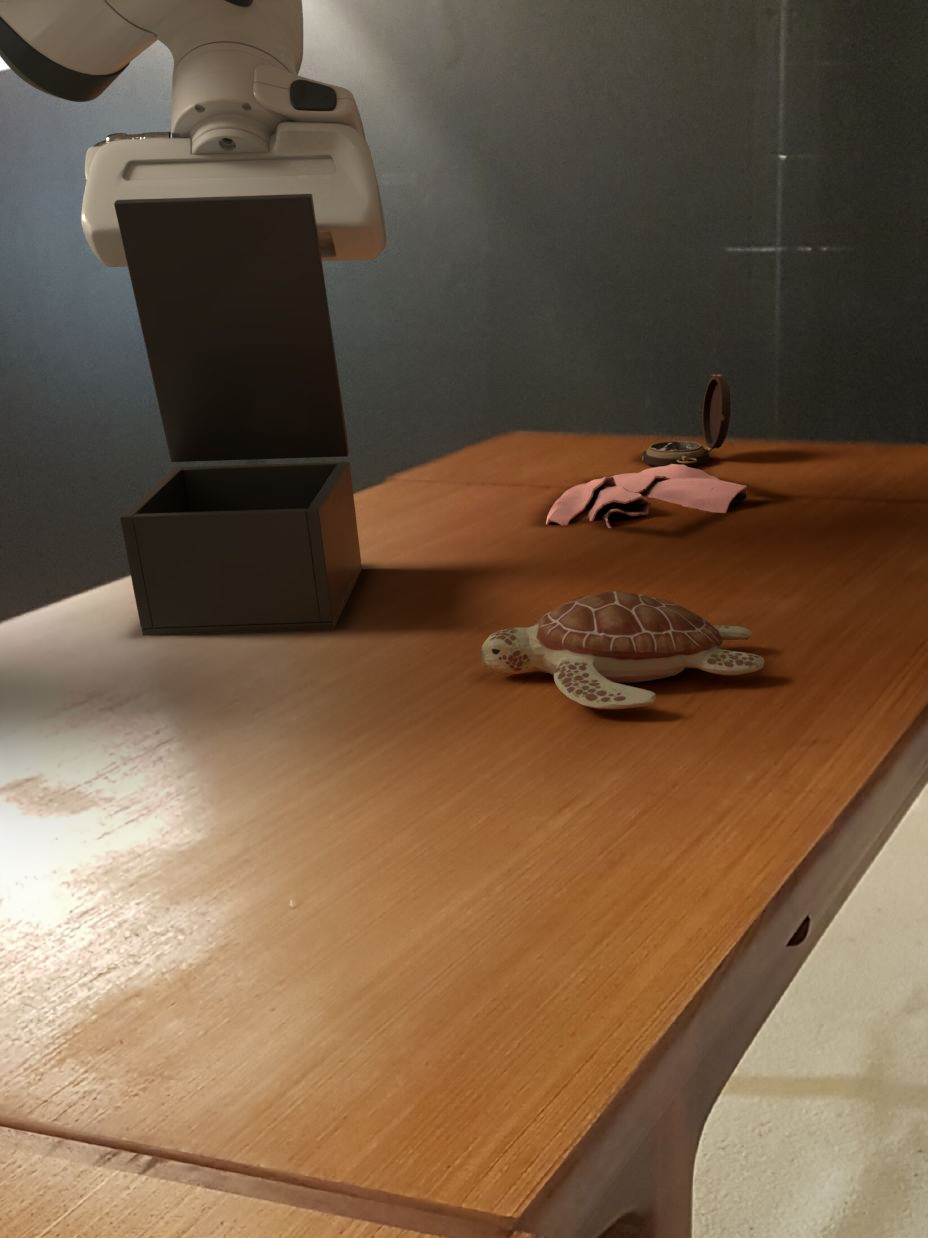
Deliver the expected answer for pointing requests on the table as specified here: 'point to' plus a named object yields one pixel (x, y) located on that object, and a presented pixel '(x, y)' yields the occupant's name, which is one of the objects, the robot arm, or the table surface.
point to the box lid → (236, 325)
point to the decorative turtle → (617, 647)
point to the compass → (713, 430)
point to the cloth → (647, 493)
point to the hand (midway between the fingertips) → (233, 306)
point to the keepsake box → (244, 548)
